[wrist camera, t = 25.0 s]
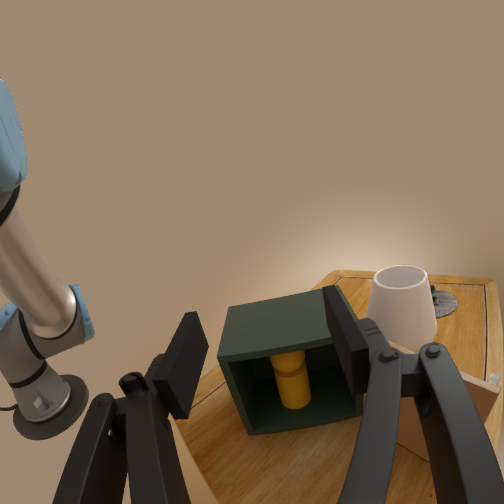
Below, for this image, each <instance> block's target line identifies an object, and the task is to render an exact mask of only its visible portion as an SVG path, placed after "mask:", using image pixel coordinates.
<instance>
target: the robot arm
mask: <svg viewBox="0 0 504 504" xmlns="http://www.w3.org/2000/svg"><path fill="white" fill-rule="evenodd" d="M21 131H22V130H21V125H20V121H19V117H18V113H17V110H16V107H15V104H14V101H13V98H12V96H11V93H10V91H9V89H8V87H7V86H6V84H5V82H3V80H2V79H1V78H0V290H1V291H2V292H3V293H4V294H5V296H7V298H8V299H9V300H10V301H11V302H10V303H8V304H7V305H5V306H4V307H2V308H1V309H0V371H1V372H2V374H3V376H4V377H5V379H6V380H7V382H8V383H9V385H10V387H11V388H12V390H13V393H14V396H15V399H16V401H17V404H15V405H14V406H12V407H9V408H0V411H10V410H14V409H16V408H17V407H19V409H20V411H21V413H22V415H23V416H24V418H25V419H26V420H27V421H28V422H30V423H32V424H42V423H46V422H49V421H51V420H53V419H54V418H56V417H57V416H59V415H60V414H61V413H62V412H63V411H64V410H65V409H66V408H67V406H68V405H69V403H70V401H71V398H72V389H71V388H70V386H69V385H68V383H67V382H66V381H65V380H64V379H63V378H62V377H60V375H59V374H58V373H56V372H55V371H54V370H53V369H52V368H51V367H50V366H49V365H48V364H47V362H46V360H45V359H46V358H48V357H51V356H53V355H55V354H58V353H60V352H63V351H65V350H67V349H70V348H72V347H74V346H77V345H79V344H84V343H85V342H86V341H88V340H90V339H92V338H93V337H94V334H95V331H94V328H93V324H92V322H91V319H90V316H89V313H88V310H87V307H86V304H85V301H84V298H83V295H82V293H81V290H80V288H79V286H78V285H77V284H74V285H67V284H66V283H64V282H63V281H61V280H58V279H55V278H54V276H53V274H52V273H51V271H50V269H49V268H48V266H47V264H46V262H45V261H44V259H43V257H42V255H41V253H40V252H39V250H38V248H37V246H36V244H35V242H34V240H33V238H32V236H31V234H30V232H29V230H28V228H27V226H26V224H25V222H24V220H23V218H22V215H21V213H20V211H19V209H18V206H17V203H18V200H19V197H20V192H21V182H22V181H23V180H24V179H25V176H26V173H27V156H26V149H25V143H24V139H23V136H22V133H21ZM322 290H323V298H324V305H325V313H326V321H327V327H328V329H329V332H330V335H331V337H332V340H333V343H334V345H335V348H336V351H337V354H338V356H339V359H340V362H341V365H342V368H343V370H344V373H345V376H346V379H347V382H348V385H349V388H350V391H351V393H352V396H357V395H360V394H364V393H367V394H366V399H365V404H364V409H363V414H362V419H361V423H360V428H359V432H358V436H357V440H356V444H355V448H354V452H353V455H352V459H351V462H350V466H349V469H348V472H347V476H346V479H345V482H344V485H343V488H342V491H341V494H340V497H339V500H338V502H337V504H385V499H386V495H387V491H388V486H389V482H390V477H391V471H392V466H393V460H394V454H395V447H396V440H397V432H398V423H399V412H400V399H401V398H405V397H413V398H414V402H415V405H416V409H417V412H418V416H419V419H420V423H421V427H422V431H423V435H424V439H425V443H426V447H427V451H428V456H429V460H430V465H431V470H432V475H433V481H434V486H435V492H436V499H437V504H504V481H503V477H502V474H501V470H500V468H499V464H498V461H497V458H496V455H495V452H494V450H493V447H492V444H491V442H490V439H489V436H488V434H487V431H486V429H485V426H484V424H483V422H482V419H481V417H480V415H479V412H478V410H477V408H476V406H475V403H474V401H473V399H472V397H471V395H470V393H469V391H468V389H467V387H466V385H465V383H464V381H463V379H462V377H461V375H460V373H459V371H458V369H457V367H456V365H455V363H454V361H453V360H452V358H451V356H450V354H449V352H448V350H447V349H446V347H445V346H444V345H442V344H440V343H435V342H433V343H427V344H425V345H423V346H422V347H421V348H420V350H419V353H415V354H401V352H400V351H399V350H398V349H396V348H394V347H391V346H390V344H389V343H388V341H387V339H386V338H385V336H384V335H383V333H382V332H381V330H380V329H379V328H378V326H377V324H376V323H375V321H373V320H371V319H370V318H364V319H360V320H356V321H354V319H353V317H352V315H351V313H350V312H349V310H348V308H347V306H346V304H345V303H344V301H343V299H342V297H341V296H340V294H339V292H338V290H337V289H336V287H335V285H330V286H326V287H322ZM208 347H209V345H208V343H207V340H206V337H205V334H204V331H203V329H202V326H201V323H200V320H199V317H198V314H197V311H195V312H188V313H185V315H184V317H183V319H182V321H181V322H180V324H179V326H178V328H177V330H176V332H175V334H174V336H173V338H172V340H171V342H170V344H169V346H168V348H167V350H166V352H165V354H159V355H158V356H157V357H155V358H154V359H153V361H152V363H151V365H150V367H149V369H148V371H147V372H146V374H145V376H144V377H143V375H142V374H141V373H140V372H131V373H128V374H126V375H125V376H123V377H122V378H121V379H120V380H119V385H120V387H121V389H122V390H123V392H124V394H125V395H126V397H123V398H118V399H114V398H113V396H112V395H111V394H110V393H102V394H99V395H97V396H96V397H95V398H94V399H93V400H92V402H91V404H90V406H89V409H88V411H87V413H86V416H85V418H84V420H83V422H82V425H81V427H80V430H79V432H78V434H77V437H76V439H75V442H74V444H73V447H72V449H71V452H70V454H69V458H68V460H67V462H66V465H65V468H64V471H63V473H62V476H61V479H60V482H59V485H58V488H57V491H56V494H55V497H54V500H53V503H52V504H122V499H123V494H124V488H125V483H126V477H127V473H128V476H129V487H130V496H131V504H191V502H190V498H189V495H188V492H187V488H186V485H185V481H184V478H183V474H182V470H181V466H180V462H179V458H178V454H177V450H176V446H175V441H174V437H173V432H172V428H171V423H170V421H169V420H168V415H169V412H170V413H171V415H172V417H173V418H174V419H188V417H189V413H190V410H191V406H192V403H193V399H194V396H195V392H196V389H197V385H198V382H199V378H200V375H201V371H202V368H203V364H204V361H205V358H206V354H207V350H208ZM109 430H110V435H108V432H109Z"/></svg>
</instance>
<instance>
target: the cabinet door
mask: <svg viewBox="0 0 504 504" xmlns="http://www.w3.org/2000/svg"><path fill="white" fill-rule="evenodd" d="M387 341H388V343H389V344H390V346H391V347H394V348H396V349H398V350H399V351H400V352H401V354H415V353H416V352H414V351H412V350H410V349H407V348H405V347H403V346H400V345H398V344H396V343H394V342H391V341H389V340H387ZM458 371H459V370H458ZM459 373H460V375H461V377H462V379H463V381H464V383H465V385H466V387H467V389H468V391H469V393H470V395H471V397H472V399H473V401H474V403H475V406H476V408H477V410H478V412H479V415H480V417H481V419H482V422H483V424H484V423H485V422H486V420H487V418H488V416H489V414H490V412H491V410H492V408H493V406H494V403H495V401H496V399H497V397H498V395H499V392H500V390H501V387H498V386H497V384H498V382H499V379H500V377H499V375H498V374H495V373H494V374H492V375H491V376H490V378H489V379H488V381H487V382H486V381H483V380H481V379H478V378H476V377H473V376H471V375H469V374H466V373H464V372H461V371H459ZM366 394H367V393H364V397H363V409H364V404H365V399H366ZM396 442H397V443H399V444H401V445H402V446H404V447H405V448H407V449H408V450H410V451H412V452H413V453H415V454H416V455H418V456H420V457H421V458H423V459H425V460H426V461H428V462H430V460H429V456H428V451H427V447H426V443H425V439H424V435H423V431H422V427H421V423H420V419H419V416H418V412H417V409H416V405H415V402H414V398H413V397H405V398H401V399H400V412H399V423H398V432H397V440H396Z"/></svg>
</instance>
